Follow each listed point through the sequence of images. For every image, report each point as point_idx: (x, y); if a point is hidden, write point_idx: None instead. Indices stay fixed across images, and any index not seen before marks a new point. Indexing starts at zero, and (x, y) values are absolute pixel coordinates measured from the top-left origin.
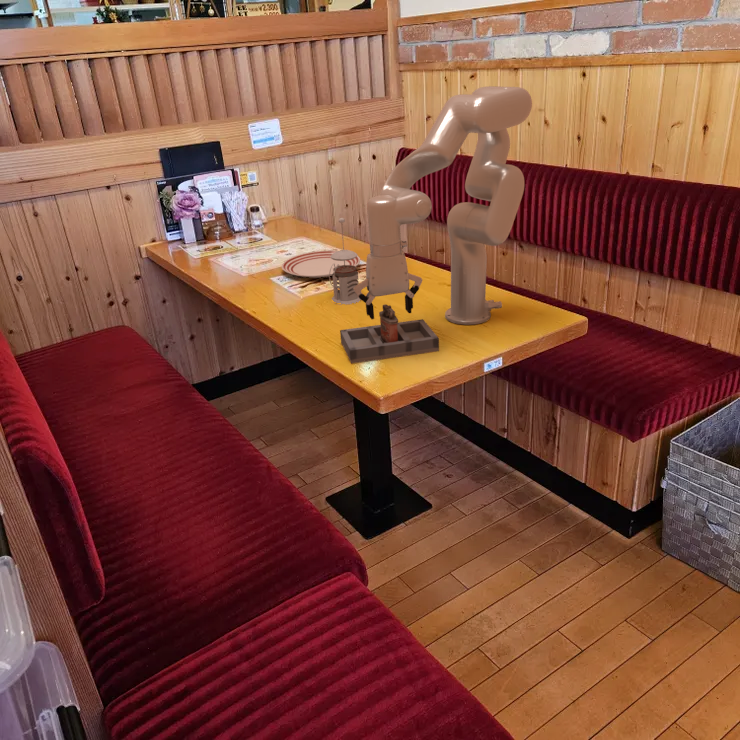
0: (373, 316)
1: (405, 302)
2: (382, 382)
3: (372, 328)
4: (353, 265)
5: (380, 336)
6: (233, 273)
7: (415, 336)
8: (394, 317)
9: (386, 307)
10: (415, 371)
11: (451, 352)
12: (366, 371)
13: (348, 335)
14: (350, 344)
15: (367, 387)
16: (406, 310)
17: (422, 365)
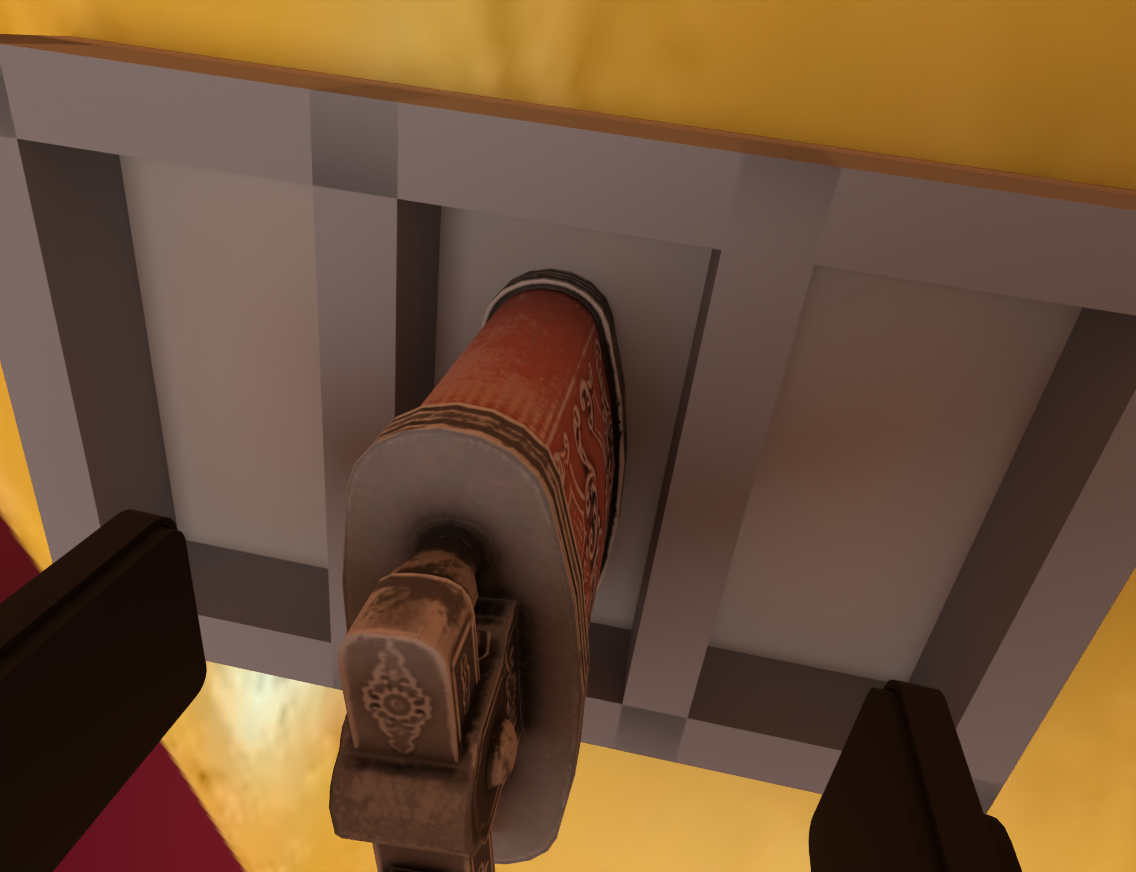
0: (169, 714)
1: (896, 860)
2: (329, 841)
3: (383, 210)
4: None
5: (486, 315)
6: None
7: (917, 422)
8: (537, 766)
9: (367, 837)
10: (574, 843)
11: (1012, 771)
12: (257, 698)
13: (43, 285)
14: (70, 523)
15: (234, 840)
16: (849, 735)
17: (661, 811)
